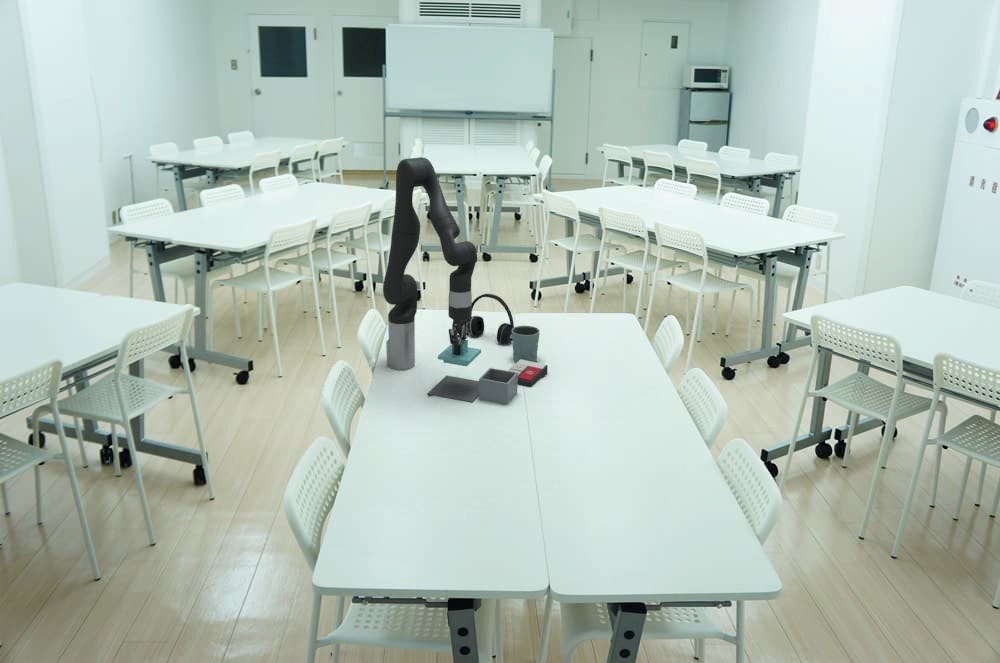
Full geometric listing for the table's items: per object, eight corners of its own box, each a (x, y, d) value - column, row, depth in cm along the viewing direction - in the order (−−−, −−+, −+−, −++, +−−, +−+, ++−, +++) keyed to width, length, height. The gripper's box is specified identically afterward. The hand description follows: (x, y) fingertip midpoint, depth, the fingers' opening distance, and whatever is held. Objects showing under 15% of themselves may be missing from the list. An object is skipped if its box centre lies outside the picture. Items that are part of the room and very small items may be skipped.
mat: (427, 396, 280) (427, 393, 280) (446, 378, 294) (446, 375, 294) (472, 404, 275) (472, 401, 275) (489, 385, 289) (489, 383, 289)
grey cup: (543, 362, 310) (545, 332, 306) (521, 368, 305) (522, 337, 300) (527, 353, 318) (528, 323, 313) (505, 358, 312) (506, 328, 308)
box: (478, 401, 278) (479, 378, 275) (489, 389, 286) (489, 367, 284) (507, 406, 274) (508, 384, 272) (517, 394, 283) (518, 372, 280)
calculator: (501, 373, 291) (519, 357, 303) (501, 385, 293) (519, 368, 305) (531, 380, 287) (548, 363, 299) (530, 391, 288) (547, 374, 301)
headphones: (463, 336, 332) (464, 292, 326) (474, 331, 338) (474, 287, 331) (506, 347, 322) (508, 302, 316) (516, 342, 328) (518, 297, 321)
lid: (437, 363, 278) (437, 344, 275) (450, 351, 287) (450, 333, 285) (468, 368, 274) (469, 349, 272) (481, 356, 284) (481, 338, 282)
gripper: (457, 295, 281) (457, 343, 287) (440, 307, 269) (440, 358, 275) (478, 298, 279) (477, 346, 285) (462, 311, 266) (462, 361, 272)
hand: (459, 351), depth 280 cm, fingers closed on lid, 4 cm apart
